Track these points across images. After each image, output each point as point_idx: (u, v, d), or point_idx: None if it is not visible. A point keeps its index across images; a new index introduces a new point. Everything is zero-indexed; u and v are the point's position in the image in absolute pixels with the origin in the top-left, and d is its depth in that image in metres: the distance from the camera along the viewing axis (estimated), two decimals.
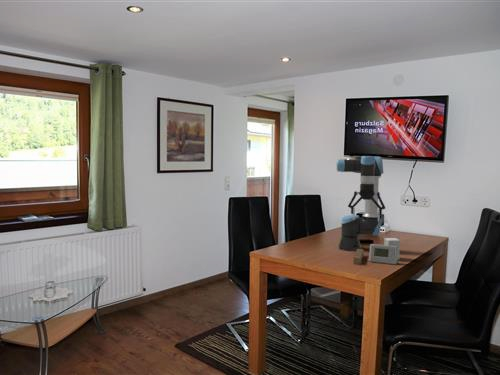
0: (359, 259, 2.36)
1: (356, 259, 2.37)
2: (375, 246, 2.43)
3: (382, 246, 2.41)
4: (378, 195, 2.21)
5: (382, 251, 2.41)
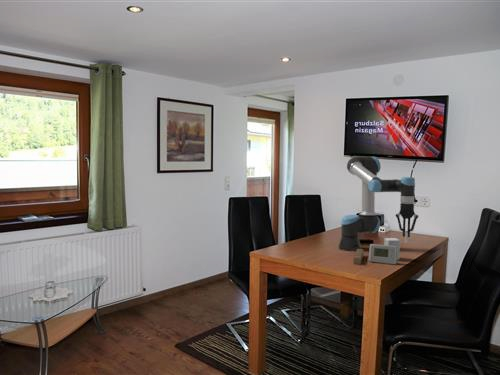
0: (359, 259, 2.36)
1: (356, 259, 2.37)
2: (375, 246, 2.43)
3: (382, 246, 2.41)
4: (416, 218, 2.32)
5: (382, 251, 2.41)
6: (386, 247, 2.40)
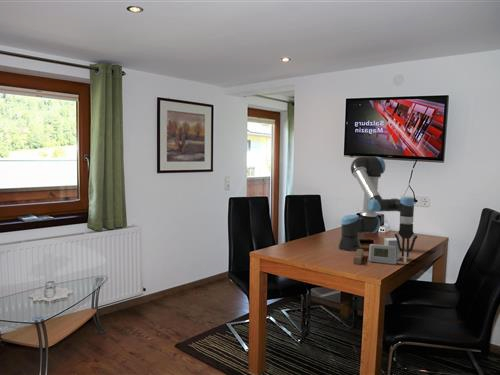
0: (359, 259, 2.36)
1: (356, 259, 2.37)
2: (375, 246, 2.43)
3: (382, 246, 2.41)
4: (415, 238, 2.33)
5: (382, 251, 2.41)
6: (386, 247, 2.40)
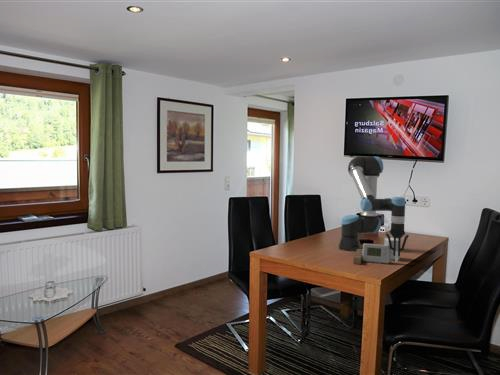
0: (359, 259, 2.36)
1: (356, 259, 2.37)
2: (368, 246, 2.44)
3: (375, 245, 2.42)
4: (406, 237, 2.35)
5: (375, 250, 2.42)
6: (379, 246, 2.41)
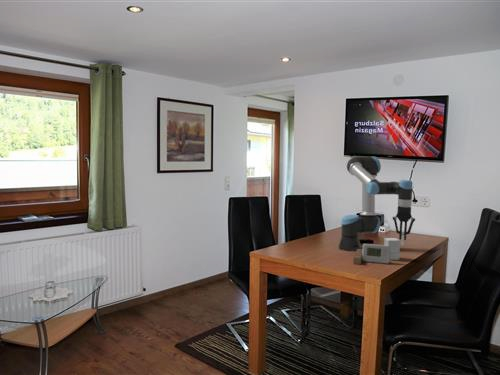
0: (359, 259, 2.36)
1: (356, 259, 2.37)
2: (368, 246, 2.44)
3: (375, 246, 2.42)
4: (412, 221, 2.33)
5: (375, 250, 2.42)
6: (379, 247, 2.41)
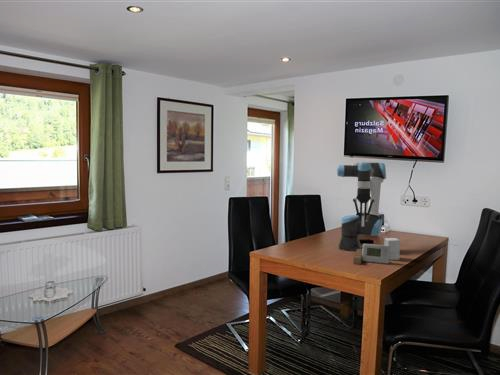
0: (359, 259, 2.36)
1: (356, 259, 2.37)
2: (367, 246, 2.44)
3: (374, 246, 2.42)
4: (372, 202, 2.40)
5: (375, 250, 2.42)
6: (379, 247, 2.41)
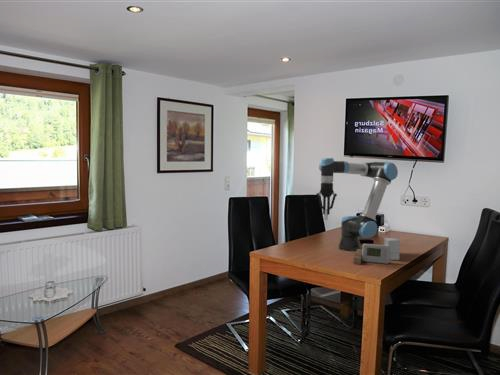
0: (359, 259, 2.36)
1: (356, 259, 2.37)
2: (367, 246, 2.44)
3: (374, 246, 2.42)
4: (334, 196, 2.46)
5: (375, 250, 2.42)
6: (379, 247, 2.41)
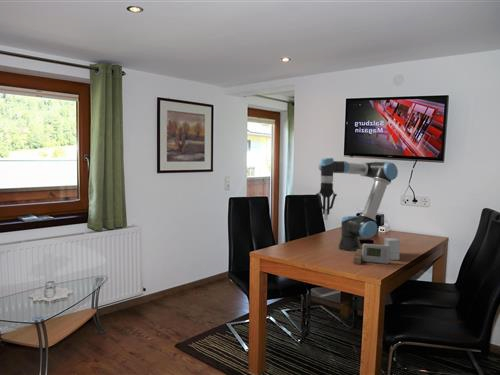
0: (359, 259, 2.36)
1: (356, 259, 2.37)
2: (367, 246, 2.44)
3: (374, 246, 2.42)
4: (334, 196, 2.47)
5: (375, 250, 2.42)
6: (379, 247, 2.41)
